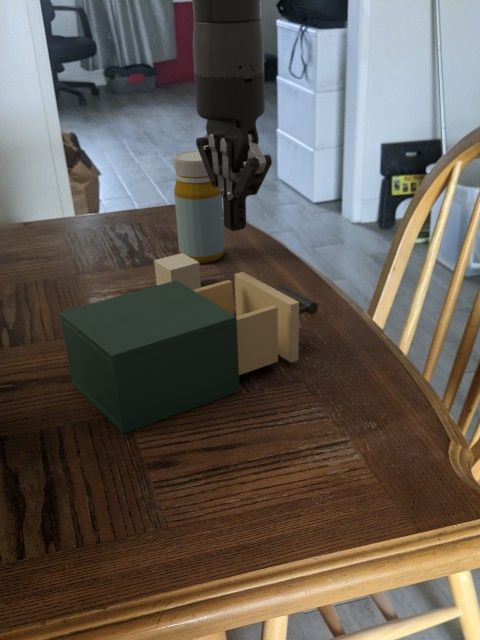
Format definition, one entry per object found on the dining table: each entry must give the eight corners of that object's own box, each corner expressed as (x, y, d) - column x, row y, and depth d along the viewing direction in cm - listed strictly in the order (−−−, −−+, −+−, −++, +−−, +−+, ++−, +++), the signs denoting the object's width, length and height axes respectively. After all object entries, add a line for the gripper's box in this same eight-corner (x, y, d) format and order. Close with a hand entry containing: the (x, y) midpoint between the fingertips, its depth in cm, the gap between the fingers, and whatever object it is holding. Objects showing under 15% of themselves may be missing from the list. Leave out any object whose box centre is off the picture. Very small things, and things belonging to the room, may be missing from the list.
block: (173, 302, 108) (170, 270, 105) (157, 291, 111) (153, 260, 108) (201, 293, 110) (199, 262, 107) (185, 283, 113) (182, 252, 110)
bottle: (209, 245, 126) (204, 146, 117) (233, 258, 121) (228, 156, 112) (171, 254, 122) (162, 154, 114) (194, 268, 118) (186, 164, 109)
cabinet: (182, 350, 96) (176, 279, 91) (239, 391, 88) (236, 316, 82) (72, 386, 89) (59, 312, 84) (123, 434, 81) (111, 355, 76)
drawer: (274, 316, 102) (274, 262, 97) (330, 348, 94) (332, 291, 90) (150, 356, 93) (144, 298, 89) (201, 395, 86) (196, 334, 81)
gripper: (168, 63, 86) (181, 220, 97) (232, 80, 78) (238, 251, 88) (226, 56, 90) (232, 208, 100) (293, 72, 81) (292, 237, 91)
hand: (235, 228), depth 94 cm, fingers closed
